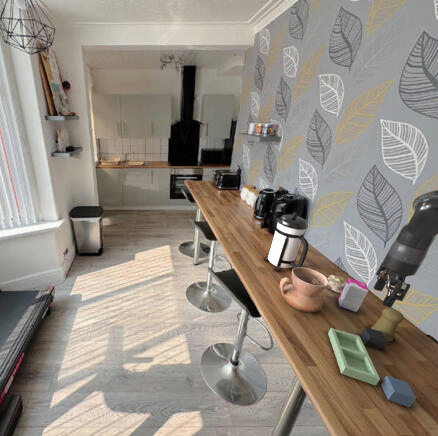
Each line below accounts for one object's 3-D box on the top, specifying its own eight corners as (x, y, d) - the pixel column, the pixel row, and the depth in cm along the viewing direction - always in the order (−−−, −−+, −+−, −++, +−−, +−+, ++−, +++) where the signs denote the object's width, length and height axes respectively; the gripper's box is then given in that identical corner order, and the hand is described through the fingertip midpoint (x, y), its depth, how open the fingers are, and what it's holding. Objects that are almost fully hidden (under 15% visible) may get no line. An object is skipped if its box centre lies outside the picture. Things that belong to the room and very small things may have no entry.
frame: (356, 342, 82) (359, 336, 81) (375, 385, 69) (380, 379, 67) (327, 333, 85) (330, 327, 84) (341, 373, 72) (345, 367, 70)
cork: (397, 340, 83) (412, 317, 79) (383, 342, 82) (397, 319, 78) (379, 326, 89) (392, 304, 84) (366, 328, 88) (378, 305, 83)
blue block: (400, 390, 68) (407, 382, 66) (409, 407, 64) (416, 398, 62) (380, 384, 69) (386, 375, 68) (387, 399, 65) (394, 391, 64)
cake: (346, 285, 111) (352, 276, 109) (349, 298, 103) (355, 288, 101) (322, 276, 116) (327, 267, 113) (323, 287, 108) (328, 278, 105)
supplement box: (357, 313, 94) (369, 291, 90) (338, 307, 97) (349, 285, 93) (355, 304, 99) (366, 282, 94) (337, 298, 102) (347, 277, 97)
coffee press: (259, 265, 122) (274, 213, 110) (268, 253, 134) (282, 204, 121) (297, 280, 112) (317, 224, 100) (303, 266, 123) (322, 213, 111)
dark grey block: (376, 339, 83) (381, 331, 82) (382, 350, 79) (387, 342, 78) (360, 334, 85) (364, 326, 83) (365, 345, 81) (370, 337, 79)
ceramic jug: (315, 295, 103) (327, 269, 97) (329, 321, 90) (343, 292, 84) (271, 287, 107) (279, 261, 101) (278, 310, 94) (288, 282, 89)
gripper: (434, 272, 65) (405, 316, 71) (410, 249, 76) (388, 288, 83) (398, 264, 68) (374, 307, 75) (380, 243, 80) (361, 281, 86)
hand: (381, 297), depth 79 cm, fingers open, 8 cm apart
